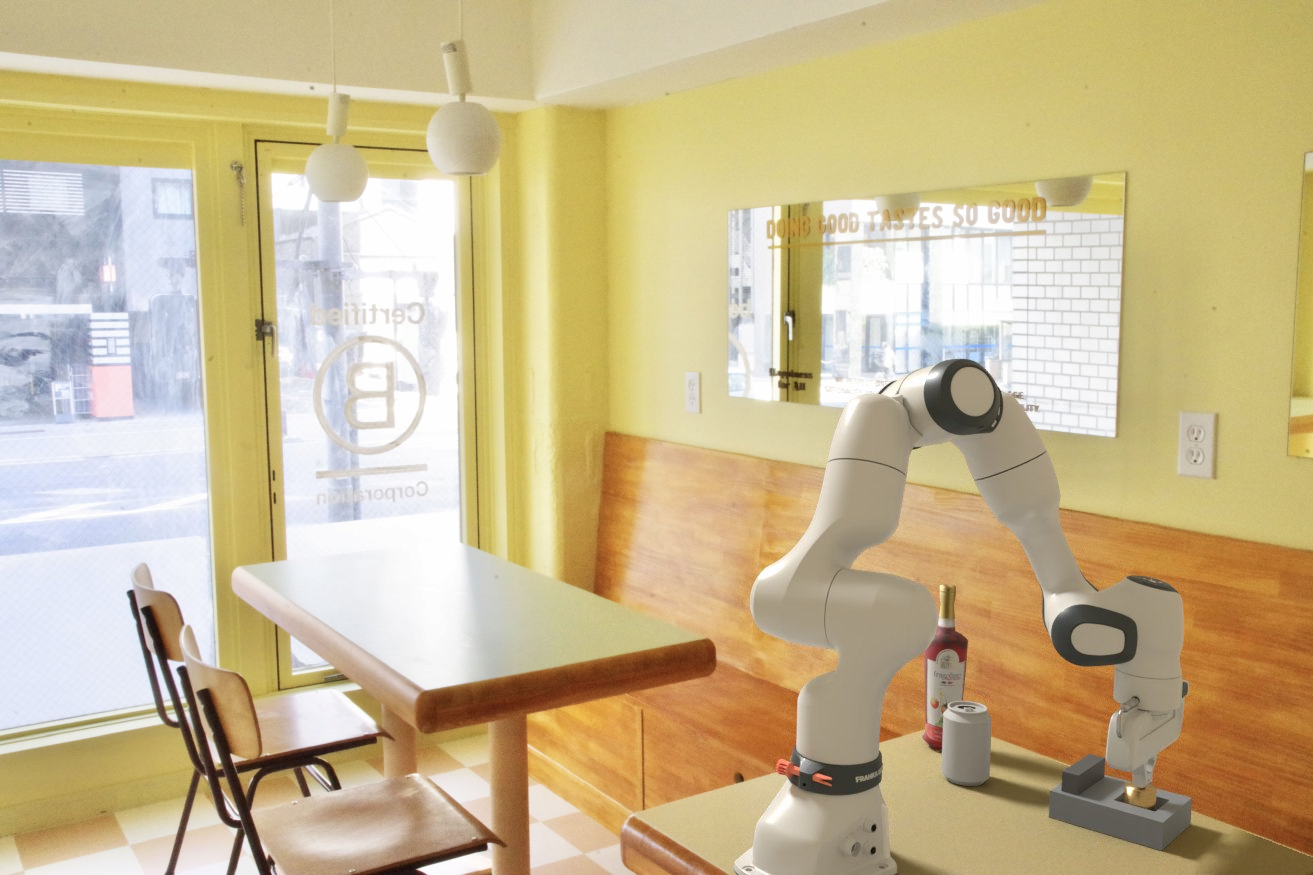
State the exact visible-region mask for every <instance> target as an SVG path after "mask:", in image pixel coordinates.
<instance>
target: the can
mask: <svg viewBox="0 0 1313 875" xmlns="http://www.w3.org/2000/svg"><path fill="white" fill-rule="evenodd" d="M988 708H989V707H988V706H987V705H985V704H982V703H981V702H975V701H970V700H963V701H953V702H950V703H949V704H948V709H947V710H946V711H945V712H944V713H943V739H942V750H941V767H940V768H941V769H940V770H941V774H942V775H943V776H944V777H945V778H946V780H947V781H948V782H951V783H953V784H955V785H959V786H964V787H965V786H966V787H975V786H981V785H982V784H984V783H985V782H986V781H988V779H989V778H990V776H991V775H990V773H991V746H992V725H993V724H992V723H993V721H992V720H993V719H992V718H993V717H992V716H991V715H990V713H988V711H989V709H988Z"/></svg>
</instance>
